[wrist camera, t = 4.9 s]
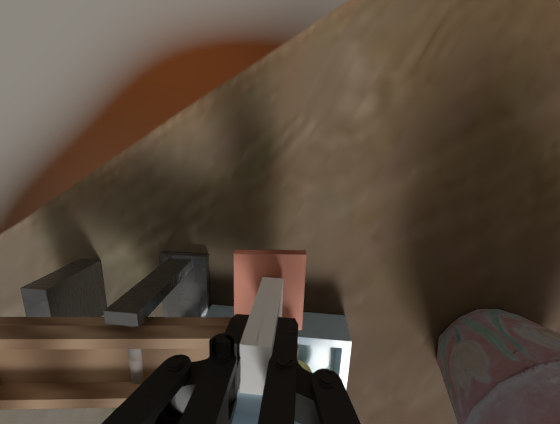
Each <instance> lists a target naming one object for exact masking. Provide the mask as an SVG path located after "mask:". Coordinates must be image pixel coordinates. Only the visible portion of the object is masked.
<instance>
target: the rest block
mask: <svg viewBox="0 0 560 424" xmlns="http://www.w3.org/2000/svg"><path fill="white" fill-rule="evenodd" d="M21 293H22V298H23V302H24V307H25V312H26V317H101V316H103V315H104V310H105V309H107V305H106V297H105V289H104V282H103V274H102V267H101V260H88V259H79V260H77V261H75V262H73V263H71V264H69V265H67V266H65V267H63V268H61V269H59V270H57V271H54V272H52V273H50V274H48V275H46V276H44V277H42V278H40V279H38V280H36V281H34V282H32V283H30V284H28V285H26V286H24V287H22V288H21Z"/></svg>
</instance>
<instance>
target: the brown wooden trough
mask: <svg viewBox="0 0 560 424" xmlns="http://www.w3.org/2000/svg"><path fill="white" fill-rule="evenodd" d="M306 256H307V255H306V252H305V250H244V249H235V251H234V316H235V315H236V314H245V315H250V312H251V309H252V306H253V303H254V301H255V298H256V295H257V292H258V289H259V286H260V283H261V280H262V277H270V278H283V304H282V317H286V318H295V319H296V321H297V323H298V330H302V321H303V305H304V288H305V272H306ZM231 318H232V317H147V318H146V319H145V320H144V321H143V322H142V323H141V324H140V325H139V326H138V327H137V326H126V325H115V324H105V318H104V317H0V409H57V408H116V407H119V406H120V405H121V404H122V403H123V402H124V401H125V400H126V399H127V398H128V397H129V396H130V395H131V394H132V393H133V392H134V391H135V390H136V389H137V388H138V387H139V386H140V385H141V384H142V383H143V382H144V381H145V380H146V379H147V378H148V377H149V376H150V375H151V374H152V373H153V372H154V371H155V370H156V369H157V368H158V367H159V366H160V365H161V364H162V363H163V362H164V361H165V360H166V359H168V358H169V357H171V356H174V355H179V354H182V355H186V356H188V357H189V358H190V360H191V362H195V361H201V360H205V359H207V358H209V340H210V339H211V338H212V337H213V336H215V335H217V334H220V333H225V331H226V328H227V326H228V324H229V322H230V319H231ZM297 360H298V346H297ZM239 389H240V386H239Z"/></svg>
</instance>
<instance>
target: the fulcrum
mask: <svg viewBox="0 0 560 424" xmlns="http://www.w3.org/2000/svg"><path fill="white" fill-rule="evenodd" d="M159 259H160V266H159V267H157V268H156V269H155V270H154V271H152V272H151V273H150V274H149V275H148V276H146V277H145V278H144V279H143V280H141V281H140V282H139V283H138V284H136V285H135V286H134V287H133V288H131V289H130V290H129V291H128V292H126V293H125V294H124V295H123V296H121V297H120V298H119V299H118V300H116V301H115V302H114V303H113V304H112V305H110V306H109V307H108V308H107V309H105V310H104V318H105V324H115V325H126V326H137V327H138V326H139V325H140V324H141V323H142V322H143V321H144V320H145V319H146V318H147V317H148V316H149V314H150V313H151V312H152V311H153V310H154V309H155V308H156V307H157V306H158V305H159V304H160V303H161V302H162V301H163V311H164V317H205V315H206V314H207V312H208V310H209V308H210V286H209V254H202V253H187V252H171V251H162V252H161V253H160V254H159ZM117 408H118V407H117Z"/></svg>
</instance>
